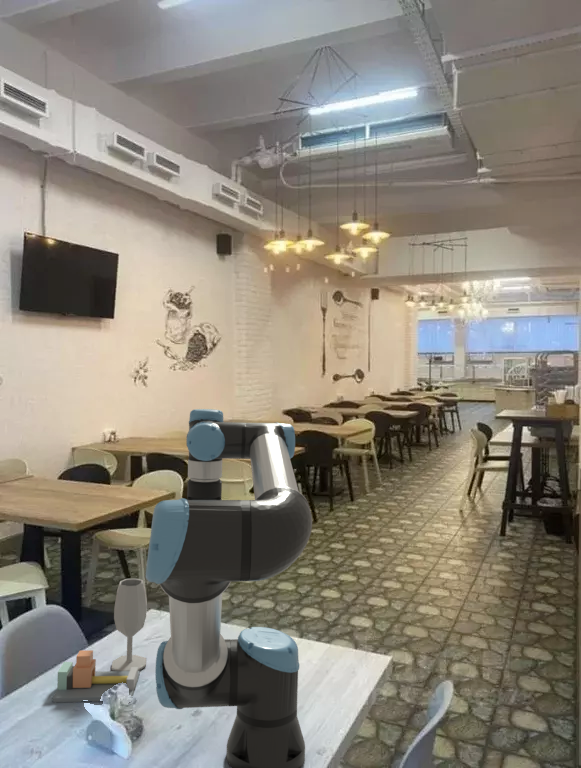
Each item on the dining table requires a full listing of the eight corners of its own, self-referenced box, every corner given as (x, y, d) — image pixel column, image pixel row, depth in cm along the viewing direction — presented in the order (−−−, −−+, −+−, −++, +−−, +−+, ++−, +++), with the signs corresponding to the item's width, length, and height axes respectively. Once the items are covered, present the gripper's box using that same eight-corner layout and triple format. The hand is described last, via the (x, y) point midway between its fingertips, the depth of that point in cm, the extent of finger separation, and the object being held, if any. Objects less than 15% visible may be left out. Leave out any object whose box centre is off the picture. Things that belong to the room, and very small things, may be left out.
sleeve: (90, 687, 141) (91, 657, 141) (72, 687, 141) (73, 658, 141) (95, 677, 146) (96, 648, 146) (77, 677, 145) (78, 649, 145)
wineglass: (151, 659, 159) (154, 577, 158) (140, 675, 150) (142, 589, 150) (118, 656, 160) (121, 575, 159) (105, 673, 151) (107, 586, 151)
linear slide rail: (131, 701, 138) (131, 678, 138) (52, 702, 137) (53, 679, 137) (139, 675, 150) (140, 654, 150) (67, 676, 149) (67, 655, 149)
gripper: (234, 476, 142) (231, 579, 143) (176, 475, 141) (174, 579, 141) (234, 482, 135) (231, 590, 135) (173, 481, 134) (170, 590, 134)
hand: (202, 584), depth 138 cm, fingers closed
